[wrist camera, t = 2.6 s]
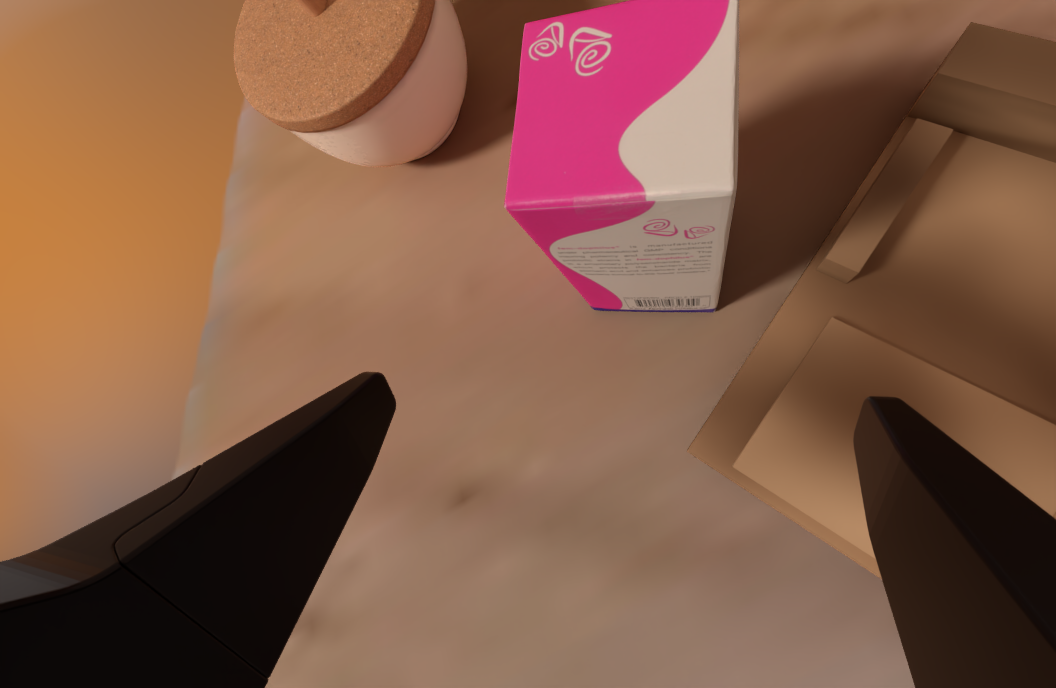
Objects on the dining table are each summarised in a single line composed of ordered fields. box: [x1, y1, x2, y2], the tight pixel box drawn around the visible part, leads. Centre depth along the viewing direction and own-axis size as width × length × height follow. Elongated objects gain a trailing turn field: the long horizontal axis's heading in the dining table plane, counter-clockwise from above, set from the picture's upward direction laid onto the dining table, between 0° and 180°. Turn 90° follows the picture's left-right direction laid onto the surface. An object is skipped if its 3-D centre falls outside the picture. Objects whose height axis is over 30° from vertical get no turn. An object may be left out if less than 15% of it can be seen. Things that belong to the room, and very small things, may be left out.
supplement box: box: [504, 0, 739, 312], centre depth 17 cm, size 6×6×11 cm
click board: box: [687, 22, 1056, 579], centre depth 16 cm, size 18×12×4 cm, turn 146°
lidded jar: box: [234, 0, 468, 167], centre depth 24 cm, size 11×11×9 cm
